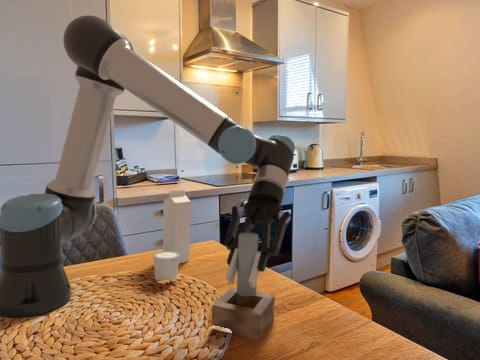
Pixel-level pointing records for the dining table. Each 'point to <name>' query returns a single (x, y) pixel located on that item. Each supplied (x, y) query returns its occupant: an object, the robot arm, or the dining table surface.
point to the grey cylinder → (246, 262)
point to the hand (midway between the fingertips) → (240, 282)
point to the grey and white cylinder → (166, 265)
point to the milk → (177, 224)
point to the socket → (244, 313)
